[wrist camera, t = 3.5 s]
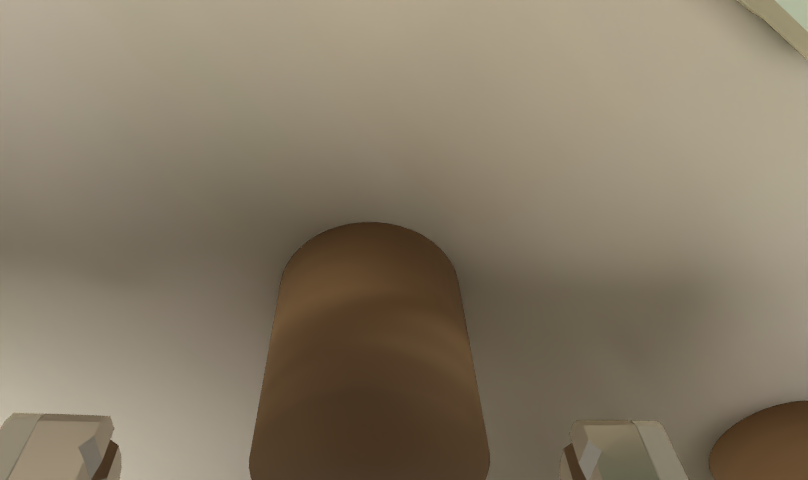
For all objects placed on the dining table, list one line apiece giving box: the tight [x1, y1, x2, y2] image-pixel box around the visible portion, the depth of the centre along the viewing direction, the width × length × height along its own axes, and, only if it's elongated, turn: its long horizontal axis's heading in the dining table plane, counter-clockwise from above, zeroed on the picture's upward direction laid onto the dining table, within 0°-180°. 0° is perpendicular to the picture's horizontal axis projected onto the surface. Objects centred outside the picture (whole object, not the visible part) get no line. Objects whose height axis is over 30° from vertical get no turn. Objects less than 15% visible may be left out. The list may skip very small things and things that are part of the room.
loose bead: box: [249, 222, 490, 480], centre depth 13 cm, size 4×4×4 cm
